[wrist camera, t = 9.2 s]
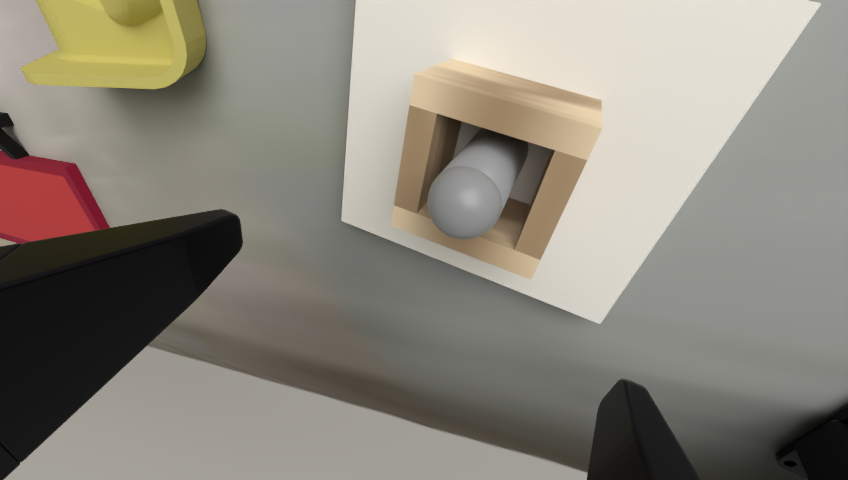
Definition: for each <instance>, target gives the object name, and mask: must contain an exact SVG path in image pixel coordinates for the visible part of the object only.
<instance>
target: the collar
mask: <svg viewBox="0 0 848 480" xmlns="http://www.w3.org/2000/svg"><path fill="white" fill-rule="evenodd" d="M462 121H463V122H466V123H469V124H472V125H475V126H479V127H482V128H485V129H488V130H491V131H495V132H498V133H501V134H504V135H508V136H511V137H514V138H517V139H520V140H524V141H527V142H530V143H533V144H536V145H540V146H543V147H546V148H549V149H552V151H551V153H550V156H549V158H548V161H547V163H546V166H545V168H544V171H543V173H542V176H541V178H540V181H539V183H538V186H537V188H536V190H535V193H534V195H533V198H532V200H531V203H530V204H527V203H524V202H521V201H518V200H515V199H512V198H509V197H508V199H507V202H506V204H505V206H504V208H503V210H502V212H501V215H500V217H499V219H498V221H497V222H496V224H495V225H494V226H493V227H492V228H491V229H490V230H489V231H488V232H487V233H485V234H483V235H481V236H479V237H477V238H473V239H457V238H453V237H450V236H448V235H446V234H444V233H443V232H442V231H440V230H439V229H438V228H437V227H436V225H435V224H434V223H433V221H432V219H431V217H430V215H429V211H428V206H427V199H428V193H429V190H430V187H431V185H432V183H433V181H434V180H435V179H436V177H437V176H438V175H439V174H440V173H441V172H442V171H443V170H444V169H445V168H446V166H447V165H448V164H449V163H450V162H451V161H452V160H453V156H454V152H455V148H456V143H457V139H458V135H459V131H460V127H461V123H462ZM601 130H602V100H599V99H596V98H592V97H589V96H585V95H581V94H578V93H574V92H571V91H567V90H563V89H560V88H556V87H553V86H549V85H545V84H542V83H538V82H534V81H531V80H527V79H524V78H520V77H516V76H513V75H509V74H506V73H502V72H498V71H495V70H491V69H488V68H484V67H480V66H477V65H473V64H469V63H466V62H462V61H459V60H455V59H450V60H448V61H445V62H443V63H440V64H438V65H435V66H433V67H430V68H428V69H425V70H423V71H420V72H418V73H415V74H414V79H413V85H412V92H411V98H410V104H409V111H408V117H407V124H406V130H405V137H404V143H403V149H402V156H401V162H400V169H399V175H398V182H397V188H396V194H395V201H394V207H393V214H392V220H391V226H393V227H395V228H398V229H401V230H403V231H406V232H408V233H411V234H414V235H416V236H419V237H421V238H424V239H427V240H429V241H432V242H434V243H437V244H440V245H442V246H445V247H447V248H450V249H453V250H455V251H458V252H460V253H463V254H466V255H468V256H471V257H473V258H476V259H479V260H481V261H484V262H486V263H489V264H492V265H494V266H497V267H499V268H502V269H504V270H507V271H510V272H512V273H515V274H517V275H520V276H523V277H525V278H528V279H530V280H531V279H532V277H533V275H534V273H535V271H536V268H537V266H538V264H539V262H540V260H541V258H542V256H543V254H544V251H545V249H546V247H547V245H548V243H549V241H550V239H551V237H552V234H553V232H554V230H555V228H556V226H557V224H558V222H559V220H560V217H561V215H562V213H563V211H564V209H565V207H566V205H567V203H568V200H569V198H570V196H571V194H572V192H573V190H574V188H575V186H576V183H577V181H578V179H579V177H580V175H581V173H582V171H583V169H584V166H585V164H586V162H587V160H588V158H589V156H590V154H591V152H592V149H593V147H594V145H595V143H596V141H597V139H598V137H599V135H600V132H601Z"/></svg>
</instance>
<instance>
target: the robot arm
mask: <svg viewBox="0 0 848 480" xmlns="http://www.w3.org/2000/svg"><path fill="white" fill-rule="evenodd" d="M242 244H243V240H242V232H241V223H240V219H239V217H238V216H237V215H236V214H234V213H231V212H229V211H226V210H223V209H219V210H213V211H207V212H201V213H195V214H189V215H183V216H178V217H172V218H166V219H160V220H154V221H148V222H142V223H137V224H131V225H125V226H119V227H113V228H107V229H101V230H95V231H90V232H84V233H78V234H72V235H66V236H60V237H54V238H48V239H43V240H37V241H31V242H25V243H23V244H13V245H7V246H1V247H0V480H4V479H5V478H6V477H7V476H8V475H9V474H10V473H11V472H12V471H13V470H14V469H15V468H17V467H18V466H19V465H20V462H22V461H24V460H25V459H26V458H27V457H28V456H29V455H30V454H31V453H32V452H33V451H34V450H35V449H37V448H38V446H40V445H41V444H42V443H43V442H44V441H45V440H46V439H47V438H48V437H49V436H50V435H52V434H53V433H54V432H55V431H56V430H57V429H58V428H59V427H60V426H61V425H62V424H63V423H64V422H66V421H67V420H68V419H69V418H70V417H71V416H72V415H73V414H74V413H75V412H76V411H77V410H78V409H79V408H81V407H82V406H83V405H84V404H85V403H86V402H87V401H88V400H89V399H90V398H91V397H92V396H93V395H95V394H96V393H97V392H98V391H99V390H100V389H101V388H102V387H103V386H104V385H105V384H106V383H107V382H108V381H109V380H111V379H112V378H113V377H114V376H115V375H116V374H117V373H118V372H119V371H120V370H121V369H122V368H123V367H125V366H126V365H127V364H128V363H129V362H130V361H131V360H132V359H133V358H134V357H135V356H136V355H137V354H139V352H141V351H142V350H143V349H144V348H145V347H146V346H147V345H148V344H149V343H150V342H151V341H153V340H154V339H155V338H156V337H157V336H158V335H159V334H160V333H161V332H162V331H163V330H164V329H165V328H166V327H168V326H169V325H170V324H171V323H172V322H173V321H174V320H175V319H176V318H177V317H178V316H179V315H180V314H182V313H183V312H184V311H185V310H186V309H187V308H188V307H189V306H190V305H191V304H192V303H193V302H194V301H195V300H196V299H197V298H198V297H199V296H200V295H201V294H202V293H203V292H204V291H205V290H206V289H207V288H208V286H209V285H210V284H211V283H212V282H213V281H214V280H215V278H216V277H217V276H218V275H219V274H220V273H221V272H222V271H223V269H224V268H225V267H226V266H227V265H228V264H229V263H230V261H231V260H232V259H233V258H234V257H235V256H236V255H237V254H238V252H239V251H240V249H241V247H242ZM775 457H776V459H777V462H778V464H779V465H780V466H781V467H783V468H785V469H787V470H790V471H792V472H794V473H796V474H799V475H801V476H803V477H806V478H808V480H848V408H846V409H845V410H843V411H842V412H840V413H838V414H837V415H835V416H834V417H832V418H831V419H829V420H827V421H826V422H824V423H823V424H821V425H820V426H818V427H816V428H815V429H813V430H812V431H810V432H808V433H807V434H805V435H804V436H802V437H801V438H799V439H797V440H796V441H794V442H793V443H791V444H789V445H788V446H786V447H785V448H783V449H782V450H780V451H778V452H777V453H776V454H775ZM587 480H701V479H700V477H699V476H698V474H697V472H696V471H695V469H694V467H693V466H692V464H691V462H690V461H689V459H688V457H687V456H686V454H685V452H684V451H683V449H682V447H681V446H680V444H679V442H678V441H677V439H676V437H675V436H674V434H673V432H672V431H671V429H670V427H669V426H668V424H667V422H666V421H665V419H664V417H663V416H662V414H661V412H660V411H659V409H658V407H657V406H656V404H655V402H654V401H653V399H652V397H651V396H650V394H649V392H648V391H647V390H646V388H645V387H643V386H642V385H639V384H637V383H635V382H632V381H630V380H628V379H620V380H619V381H618V382H617V383H616V384H615V385H614V386H613V387H612V389H611V390H610V391H609V392H608V393H607V395H606V396H605V397H604V398H603V399H602V401H601V403H600V405H599V408H598V412H597V418H596V425H595V431H594V437H593V444H592V450H591V456H590V463H589V469H588V476H587Z"/></svg>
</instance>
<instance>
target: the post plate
mask: <svg viewBox="0 0 848 480" xmlns="http://www.w3.org/2000/svg"><path fill="white" fill-rule="evenodd" d="M820 5H821V3H817V2H812V1H808V0H356V8H355V23H354V38H353V53H352V67H351V82H350V97H349V112H348V127H347V142H346V157H345V172H344V187H343V202H342V217H341V221H343V222H345V223H348V224H350V225H353V226H355V227H358V228H360V229H363V230H365V231H368V232H370V233H373V234H375V235H378V236H380V237H383V238H385V239H388V240H390V241H393V242H395V243H398V244H400V245H403V246H405V247H408V248H410V249H413V250H415V251H418V252H420V253H423V254H425V255H428V256H430V257H433V258H435V259H438V260H440V261H443V262H445V263H448V264H450V265H453V266H455V267H458V268H461V269H463V270H466V271H468V272H471V273H473V274H476V275H478V276H481V277H483V278H486V279H488V280H491V281H493V282H496V283H498V284H501V285H503V286H506V287H508V288H511V289H513V290H516V291H518V292H521V293H523V294H526V295H528V296H531V297H533V298H536V299H538V300H541V301H543V302H546V303H548V304H551V305H553V306H556V307H558V308H561V309H563V310H566V311H568V312H571V313H573V314H576V315H578V316H581V317H583V318H586V319H588V320H591V321H593V322H596V323H598V324H600V323H601V322H602V321H603V319H604V318H605V316H606V315H607V313H608V312H609V310H610V309H611V307H612V306H613V305H614V303H615V302H616V300H617V299H618V297H619V296H620V294H621V293H622V292H623V290H624V289H625V287H626V286H627V284H628V283H629V281H630V280H631V279H632V277H633V276H634V274H635V273H636V271H637V270H638V268H639V267H640V265H641V264H642V263H643V261H644V260H645V258H646V257H647V255H648V254H649V252H650V251H651V250H652V248H653V247H654V245H655V244H656V242H657V241H658V239H659V238H660V237H661V235H662V234H663V232H664V231H665V229H666V228H667V226H668V225H669V224H670V222H671V221H672V219H673V218H674V216H675V215H676V213H677V212H678V210H679V209H680V208H681V206H682V205H683V203H684V202H685V200H686V199H687V197H688V196H689V195H690V193H691V192H692V190H693V189H694V187H695V186H696V184H697V183H698V182H699V180H700V179H701V177H702V176H703V174H704V173H705V171H706V170H707V168H708V167H709V166H710V164H711V163H712V161H713V160H714V158H715V157H716V155H717V154H718V153H719V151H720V150H721V148H722V147H723V145H724V144H725V142H726V141H727V140H728V138H729V137H730V135H731V134H732V132H733V131H734V129H735V128H736V126H737V125H738V124H739V122H740V121H741V119H742V118H743V116H744V115H745V113H746V112H747V111H748V109H749V108H750V106H751V105H752V103H753V102H754V100H755V99H756V98H757V96H758V95H759V93H760V92H761V90H762V89H763V87H764V86H765V84H766V83H767V82H768V80H769V79H770V77H771V76H772V74H773V73H774V71H775V70H776V69H777V67H778V66H779V64H780V63H781V61H782V60H783V58H784V57H785V56H786V54H787V53H788V51H789V50H790V48H791V47H792V45H793V44H794V42H795V41H796V40H797V38H798V37H799V35H800V34H801V32H802V31H803V29H804V28H805V27H806V25H807V24H808V22H809V21H810V19H811V18H812V16H813V15H814V14H815V12H816V11H817V9H818V8H819V6H820ZM450 59H455V60H459V61H462V62H466V63H469V64H473V65H477V66H480V67H484V68H488V69H491V70H495V71H498V72H502V73H506V74H509V75H513V76H516V77H520V78H524V79H527V80H531V81H534V82H538V83H542V84H545V85H549V86H553V87H556V88H560V89H563V90H567V91H571V92H574V93H578V94H581V95H585V96H589V97H592V98H596V99H599V100H602V130H601V132H600V135H599V137H598V139H597V141H596V143H595V145H594V147H593V149H592V152H591V154H590V156H589V158H588V160H587V162H586V164H585V166H584V169H583V171H582V173H581V175H580V177H579V179H578V181H577V183H576V186H575V188H574V190H573V192H572V194H571V196H570V198H569V200H568V203H567V205H566V207H565V209H564V211H563V213H562V215H561V217H560V220H559V222H558V224H557V226H556V228H555V230H554V232H553V234H552V237H551V239H550V241H549V243H548V245H547V247H546V249H545V251H544V254H543V256H542V258H541V260H540V262H539V264H538V266H537V268H536V271H535V273H534V275H533V277H532V279H531V280H530V279H528V278H525V277H523V276H520V275H517V274H515V273H512V272H510V271H507V270H504V269H502V268H499V267H497V266H494V265H492V264H489V263H486V262H484V261H481V260H479V259H476V258H473V257H471V256H468V255H466V254H463V253H460V252H458V251H455V250H453V249H450V248H447V247H445V246H442V245H440V244H437V243H434V242H432V241H429V240H427V239H424V238H421V237H419V236H416V235H414V234H411V233H408V232H406V231H403V230H401V229H398V228H395V227H393V226H391V220H392V214H393V207H394V201H395V194H396V188H397V182H398V175H399V169H400V162H401V156H402V149H403V143H404V137H405V130H406V124H407V117H408V111H409V104H410V98H411V92H412V85H413V79H414V74H415V73H418V72H420V71H423V70H425V69H428V68H430V67H433V66H435V65H438V64H440V63H443V62H445V61H448V60H450ZM551 151H552V149H549V148H546V147H543V146H540V145H536V144H533V143H530V142H527V141H524V140H520V139H517V138H514V137H511V136H508V135H504V134H501V133H498V132H495V131H491V130H488V129H485V128H482V127H479V126H475V125H472V124H469V123H466V122H463V121H462V123H461V127H460V131H459V135H458V139H457V143H456V148H455V152H454V156H453V160H452V161H451V162H450V163H449V164H448V165H447V166H446V168H445V169H444V170H443V171H442V172H441V173H440V174H439V175H438V176H437V177H436V179H435V180H434V181H433V183H432V185H431V187H430V190H429V193H428V199H427V206H428V211H429V215H430V217H431V219H432V221H433V223H434V224H435V225H436V227H437V228H438V229H439V230H440V231H442V232H443V233H444V234H446V235H448V236H450V237H453V238H457V239H473V238H477V237H479V236H481V235H483V234H485V233H487V232H488V231H489V230H490V229H491V228H492V227H493V226H494V225H495V224H496V222H497V221H498V219H499V217H500V215H501V212H502V210H503V208H504V206H505V204H506V202H507V199H508V197H509V198H512V199H515V200H518V201H521V202H524V203H527V204H530V203H531V200H532V198H533V195H534V193H535V190H536V188H537V186H538V183H539V181H540V178H541V176H542V173H543V171H544V168H545V166H546V163H547V161H548V158H549V156H550V153H551Z"/></svg>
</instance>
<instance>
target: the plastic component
mask: <svg viewBox="0 0 848 480" xmlns="http://www.w3.org/2000/svg"><path fill="white" fill-rule="evenodd" d="M36 2H37V4H38V6H39V8H40V10H41V12H42V14H43V16H44V18H45V20H46V23H47V25H48V27H49V29H50V31H51V33H52V35H53V37H54V39H55V41H56V43H57V45H58V47H59V50H57V51H55V52H52V53H50V54H48V55H46V56H44V57H42V58H40V59H38V60H36V61H33V62H31V63H29V64H27V65H25V66H23V67H22V68H21V70H22V72H23V74H24V76H25V78H26V80H27V81H28V82H29V83H32V84H36V85H59V86H85V87H110V88H136V89H159V88H164V87H167V86H169V85H171V84H173V83H174V82H176V81H177V80H179V79H180V78H182V77H183V76H185V75H186V74H188V73H189V72H191V71H192V70H193V69H195V68H196V67H197V66H198V65H199V64H200V62H201V61H202V59H203V57H204V54H205V51H206V33H205V28H204V24H203V20H202V17H201V13H200V9H199V5H198V1H197V0H36Z"/></svg>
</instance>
